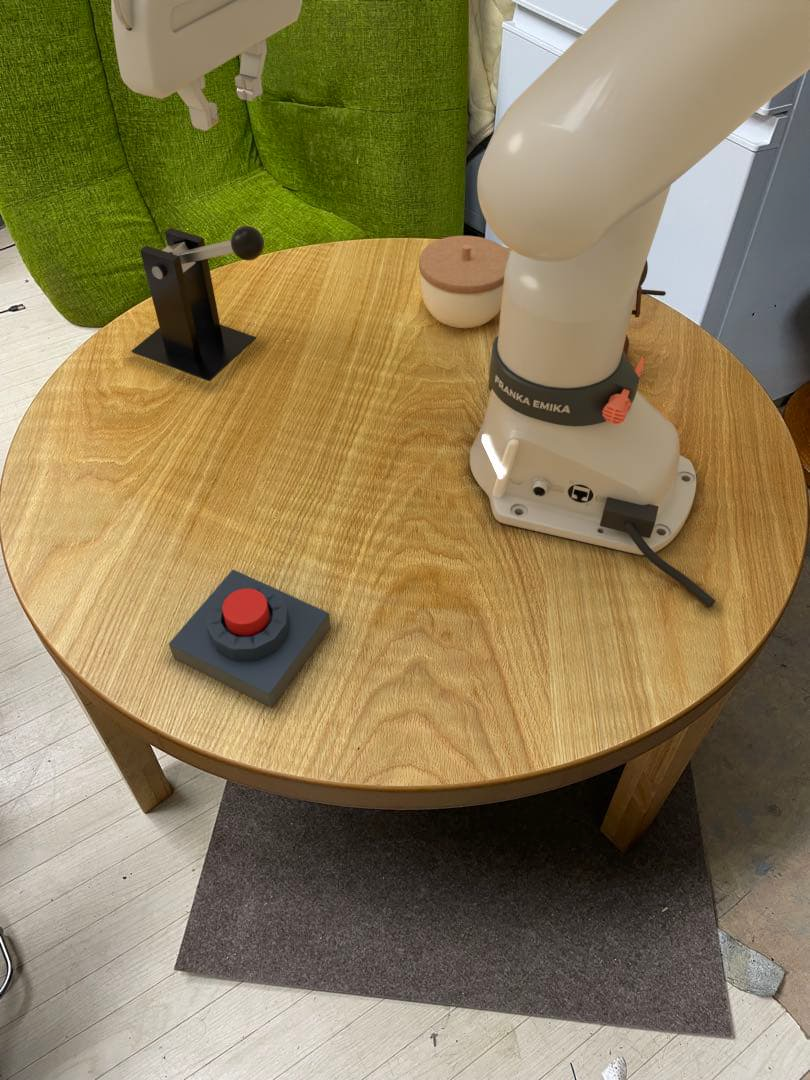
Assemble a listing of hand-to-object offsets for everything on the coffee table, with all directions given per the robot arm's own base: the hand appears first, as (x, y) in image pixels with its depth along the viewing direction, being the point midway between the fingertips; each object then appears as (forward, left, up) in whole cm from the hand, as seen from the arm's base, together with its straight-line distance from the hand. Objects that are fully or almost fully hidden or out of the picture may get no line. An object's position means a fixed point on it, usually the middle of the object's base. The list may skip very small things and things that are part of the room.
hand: (228, 111), depth 75 cm
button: (-19, +30, -25) cm, 44 cm away
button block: (-19, +30, -29) cm, 46 cm away
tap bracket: (+10, 0, -29) cm, 31 cm away
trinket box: (-14, -21, -29) cm, 39 cm away
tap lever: (+4, 0, -16) cm, 17 cm away
